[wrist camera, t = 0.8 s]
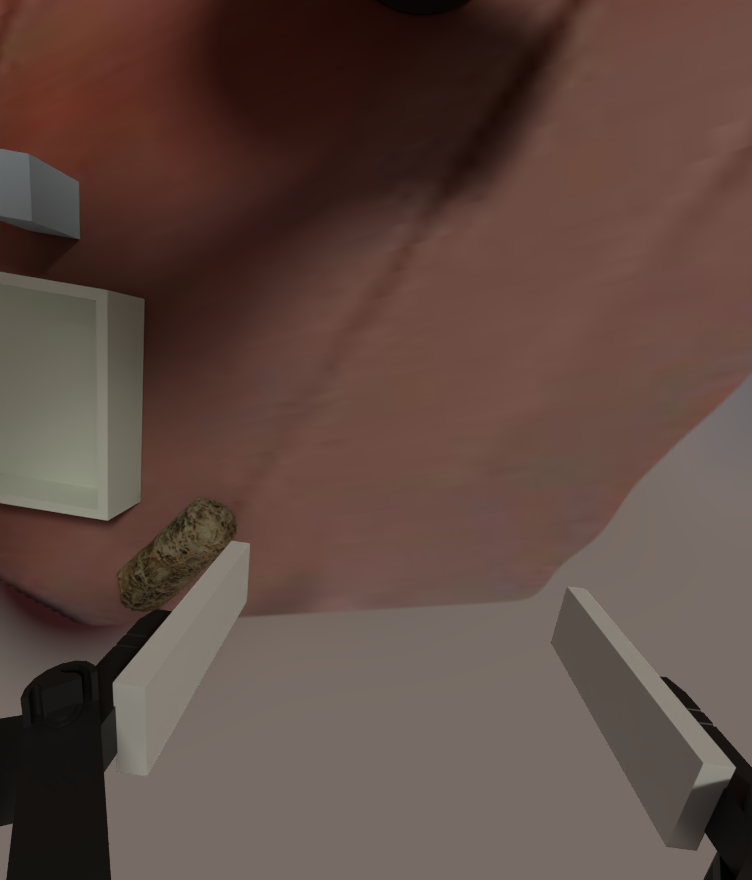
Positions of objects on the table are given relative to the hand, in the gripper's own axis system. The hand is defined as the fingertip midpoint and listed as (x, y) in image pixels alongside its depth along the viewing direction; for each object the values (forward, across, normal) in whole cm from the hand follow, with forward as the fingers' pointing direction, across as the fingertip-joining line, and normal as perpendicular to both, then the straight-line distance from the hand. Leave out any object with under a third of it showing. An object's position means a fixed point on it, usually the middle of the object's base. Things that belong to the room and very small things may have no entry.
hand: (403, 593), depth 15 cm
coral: (+25, -22, -15) cm, 36 cm away
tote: (+25, -42, +1) cm, 49 cm away
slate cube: (+25, -36, +19) cm, 47 cm away
